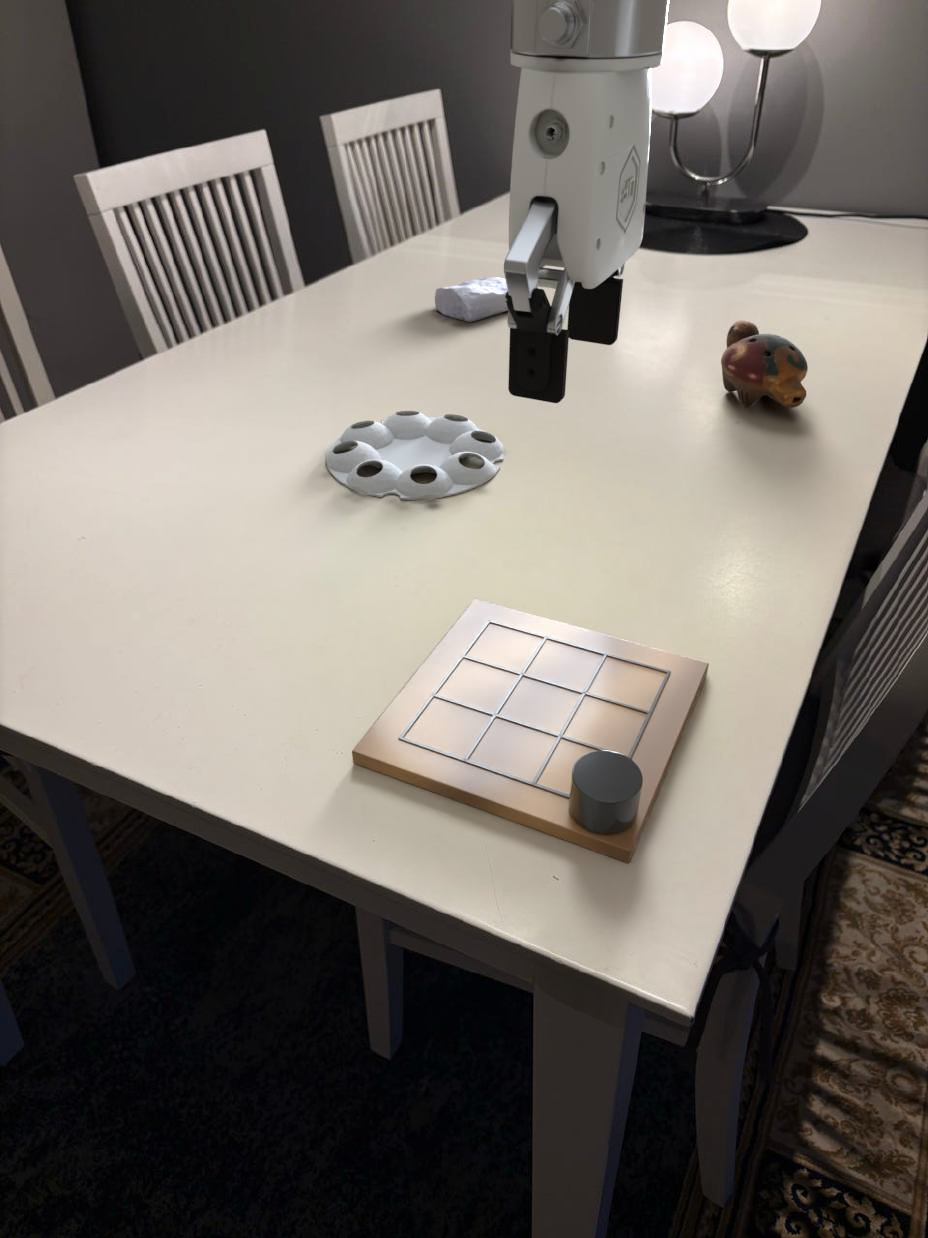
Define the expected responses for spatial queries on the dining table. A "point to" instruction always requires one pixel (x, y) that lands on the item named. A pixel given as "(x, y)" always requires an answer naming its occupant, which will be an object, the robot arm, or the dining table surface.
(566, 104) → the robot arm
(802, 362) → the decorative turtle
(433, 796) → the dining table surface
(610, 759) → the grey metallic short cylinder
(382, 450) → the round palette
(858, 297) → the dining table surface
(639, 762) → the game board
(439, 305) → the block
